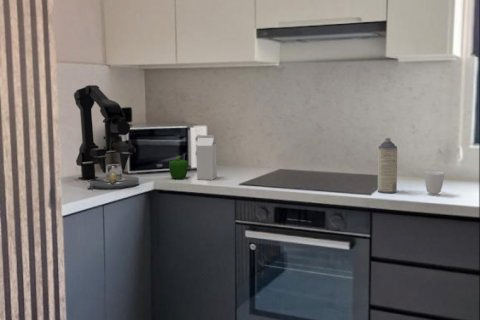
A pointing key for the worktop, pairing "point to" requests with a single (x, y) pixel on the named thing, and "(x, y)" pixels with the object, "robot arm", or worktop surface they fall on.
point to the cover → (114, 171)
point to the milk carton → (206, 157)
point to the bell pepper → (178, 168)
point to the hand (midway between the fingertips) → (114, 171)
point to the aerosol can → (387, 167)
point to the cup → (434, 182)
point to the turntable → (114, 182)
